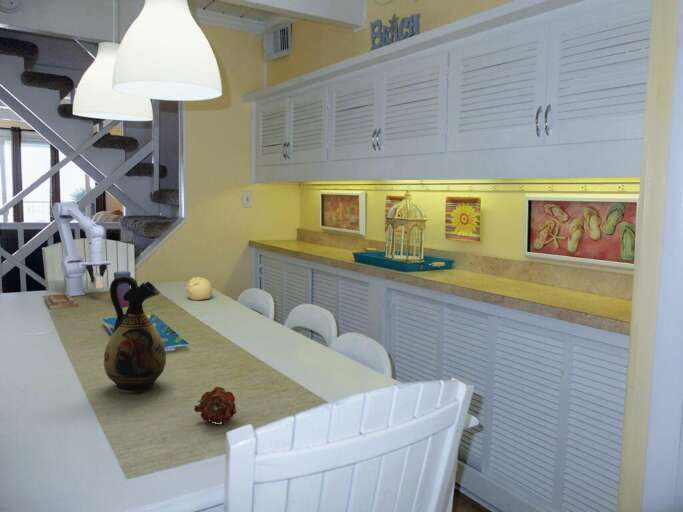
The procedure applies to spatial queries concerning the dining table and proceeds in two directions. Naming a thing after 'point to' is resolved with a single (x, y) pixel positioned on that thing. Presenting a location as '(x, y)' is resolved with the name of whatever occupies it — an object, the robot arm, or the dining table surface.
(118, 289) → the cup
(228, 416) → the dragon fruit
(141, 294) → the ceramic jug
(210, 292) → the sculpture
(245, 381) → the dining table surface
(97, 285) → the clay bar
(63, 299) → the rack
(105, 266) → the robot arm
